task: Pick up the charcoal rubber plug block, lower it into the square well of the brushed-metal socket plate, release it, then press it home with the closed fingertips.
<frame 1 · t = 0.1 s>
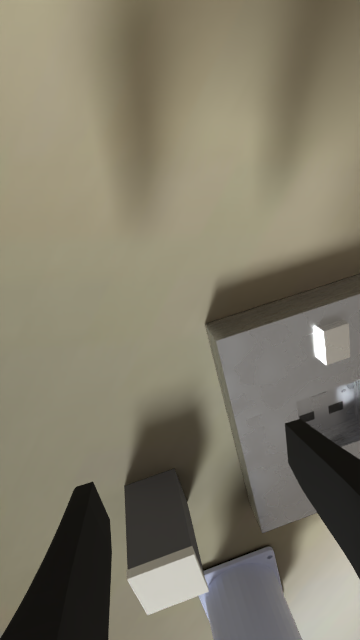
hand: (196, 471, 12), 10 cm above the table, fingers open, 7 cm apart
plug: (156, 494, 26), on the table
socket plate: (316, 398, 25), on the table
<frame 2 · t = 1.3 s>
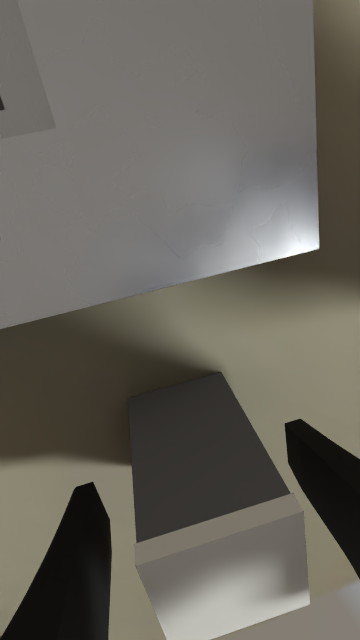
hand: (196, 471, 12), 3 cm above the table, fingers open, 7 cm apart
plug: (184, 421, 14), on the table
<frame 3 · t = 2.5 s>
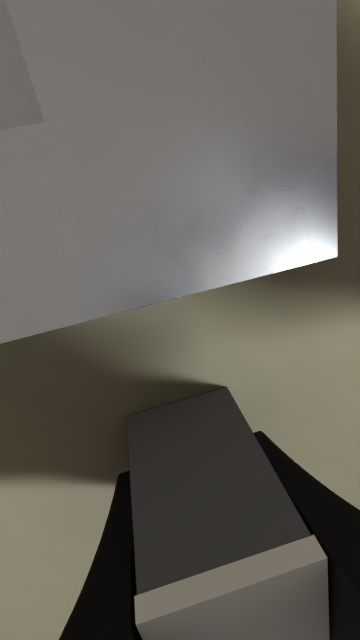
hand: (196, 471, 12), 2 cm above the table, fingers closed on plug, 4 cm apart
plug: (187, 440, 13), on the table, touching gripper
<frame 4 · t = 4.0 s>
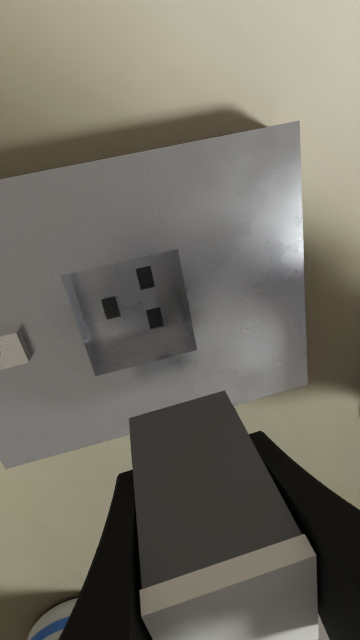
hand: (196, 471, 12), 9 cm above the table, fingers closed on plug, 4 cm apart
supplement tub: (86, 621, 29), on the table
plug: (186, 440, 14), point 7 cm above the table, touching gripper
socket plate: (132, 300, 18), on the table
when the fingers open (3 cm above the table, at t = 5.6 s): plug stays where it is, resting on socket plate.
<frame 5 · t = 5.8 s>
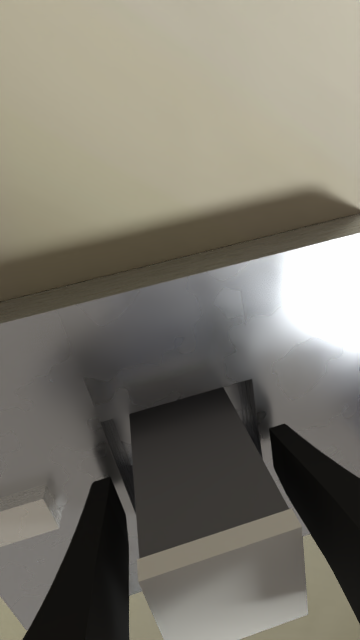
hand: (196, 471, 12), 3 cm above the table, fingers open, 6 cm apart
plug: (184, 431, 15), point 1 cm above the table, touching socket plate
socket plate: (180, 415, 15), on the table
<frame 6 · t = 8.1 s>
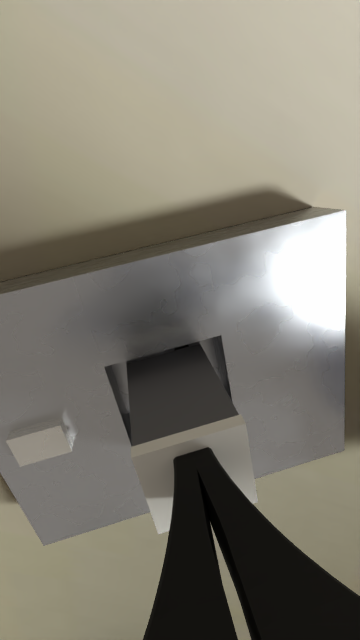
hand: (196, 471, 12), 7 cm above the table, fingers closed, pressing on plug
plug: (171, 384, 18), point 1 cm above the table, touching gripper, socket plate
socket plate: (168, 372, 18), on the table
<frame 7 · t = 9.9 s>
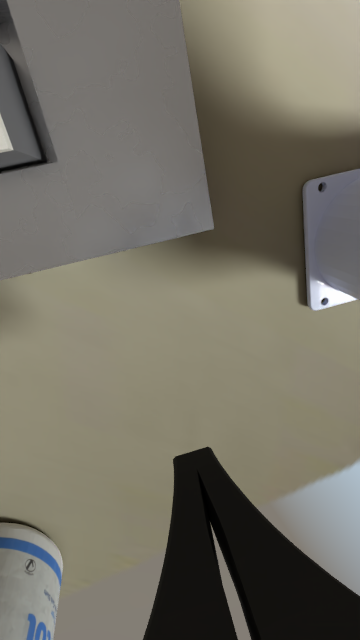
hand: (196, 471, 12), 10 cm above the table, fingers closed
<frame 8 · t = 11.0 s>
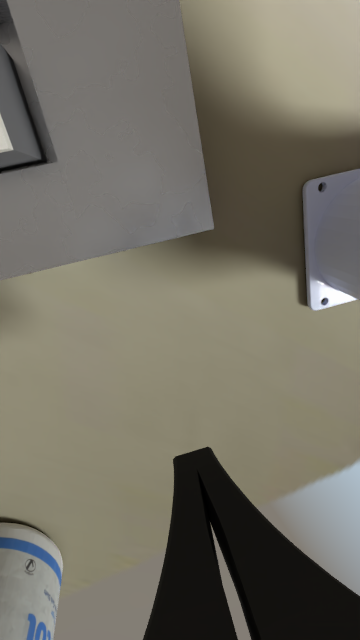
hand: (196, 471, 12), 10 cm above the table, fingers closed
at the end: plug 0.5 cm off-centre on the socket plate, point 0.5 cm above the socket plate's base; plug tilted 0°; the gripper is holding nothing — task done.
